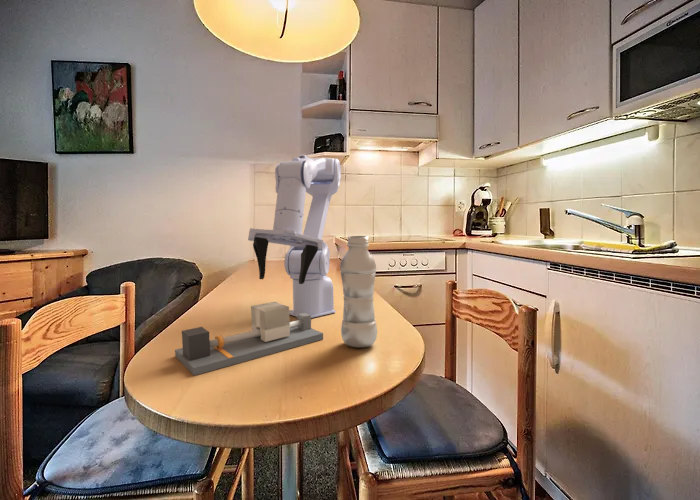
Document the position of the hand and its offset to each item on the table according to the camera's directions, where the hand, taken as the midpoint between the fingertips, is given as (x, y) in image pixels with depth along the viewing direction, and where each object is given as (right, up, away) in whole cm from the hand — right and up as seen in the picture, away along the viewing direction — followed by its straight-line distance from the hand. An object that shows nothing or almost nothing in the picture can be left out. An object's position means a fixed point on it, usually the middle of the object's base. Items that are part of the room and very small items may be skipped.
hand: (281, 280), depth 70 cm
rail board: (-4, -12, -4) cm, 13 cm away
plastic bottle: (+15, -12, -3) cm, 19 cm away
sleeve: (-2, -10, -2) cm, 10 cm away
